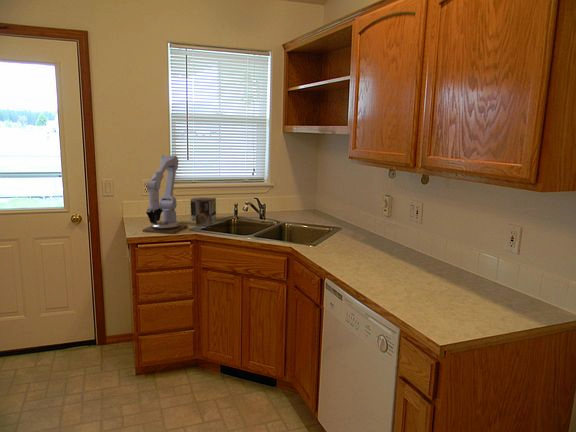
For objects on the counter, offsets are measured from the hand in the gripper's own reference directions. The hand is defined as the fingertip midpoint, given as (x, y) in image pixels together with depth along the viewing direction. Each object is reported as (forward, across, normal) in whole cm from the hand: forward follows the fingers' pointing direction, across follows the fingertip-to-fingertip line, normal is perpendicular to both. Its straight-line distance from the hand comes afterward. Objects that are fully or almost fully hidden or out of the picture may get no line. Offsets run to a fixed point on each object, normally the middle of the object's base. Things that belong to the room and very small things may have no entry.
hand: (155, 221), depth 278 cm
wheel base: (+4, 0, +7) cm, 8 cm away
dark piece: (+5, -37, +16) cm, 41 cm away
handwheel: (+2, 0, +7) cm, 7 cm away
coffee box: (+5, -19, +24) cm, 31 cm away
